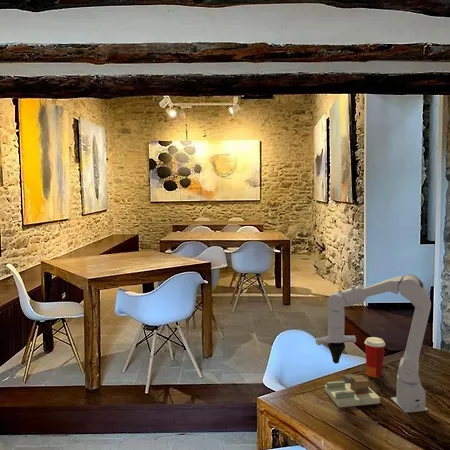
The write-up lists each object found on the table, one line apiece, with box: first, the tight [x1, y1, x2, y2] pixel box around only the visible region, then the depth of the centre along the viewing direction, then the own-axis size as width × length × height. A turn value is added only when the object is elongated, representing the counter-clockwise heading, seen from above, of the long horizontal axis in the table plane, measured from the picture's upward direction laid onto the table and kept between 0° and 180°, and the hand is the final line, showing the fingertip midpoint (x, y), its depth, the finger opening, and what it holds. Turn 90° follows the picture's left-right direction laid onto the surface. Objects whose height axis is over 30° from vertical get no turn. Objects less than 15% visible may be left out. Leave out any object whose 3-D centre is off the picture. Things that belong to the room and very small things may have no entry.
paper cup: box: [363, 336, 386, 379], centre depth 171 cm, size 8×8×14 cm
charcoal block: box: [342, 373, 355, 384], centre depth 163 cm, size 4×4×4 cm
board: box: [324, 380, 381, 408], centre depth 154 cm, size 12×15×4 cm
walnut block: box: [350, 375, 370, 394], centre depth 154 cm, size 4×4×4 cm
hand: (335, 362), depth 158 cm, fingers closed
